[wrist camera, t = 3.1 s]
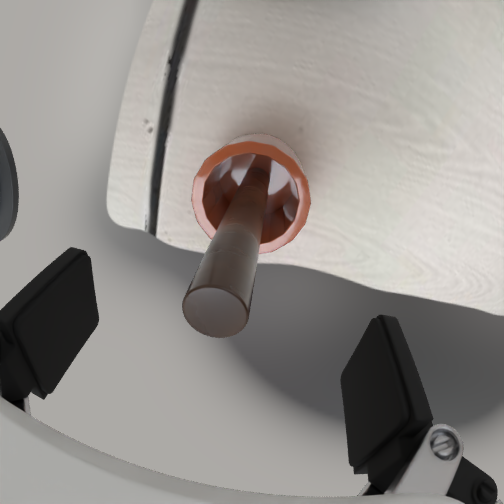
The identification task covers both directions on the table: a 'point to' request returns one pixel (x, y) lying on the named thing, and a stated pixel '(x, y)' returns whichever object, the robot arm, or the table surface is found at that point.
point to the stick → (230, 263)
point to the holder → (279, 193)
